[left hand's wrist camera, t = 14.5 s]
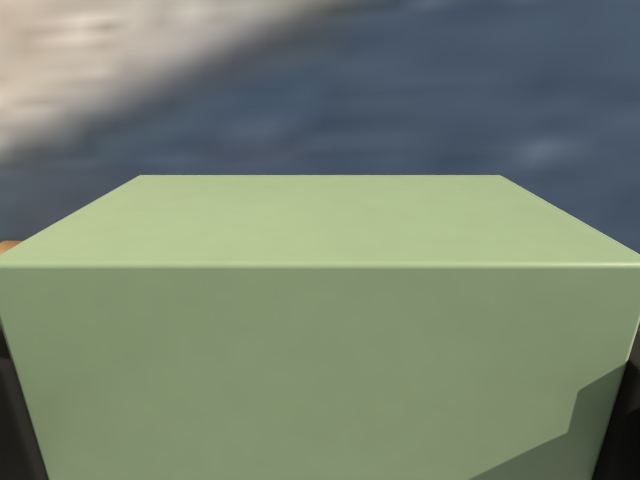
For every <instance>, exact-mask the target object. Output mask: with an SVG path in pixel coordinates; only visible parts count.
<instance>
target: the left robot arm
mask: <svg viewBox="0 0 640 480" xmlns="http://www.w3.org/2000/svg"><path fill="white" fill-rule="evenodd" d="M0 480H48V479H47V475H46V472H45V469H44V465H43V462H42V459H41V455H40V452H39V449H38V446H37V442H36V439H35V436H34V432H33V429H32V426H31V422H30V419H29V416H28V412H27V409H26V406H25V403H24V399H23V396H22V393H21V389H20V386H19V383H18V379H17V376H16V373H15V370H14V366H13V363H12V360H11V357H10V353H9V350H8V347H7V344H6V340H5V337H4V334H3V330H2V327H1V324H0ZM592 480H640V322H639V325H638V329H637V332H636V335H635V339H634V342H633V345H632V349H631V352H630V355H629V359H628V362H627V365H626V368H625V372H624V375H623V378H622V382H621V385H620V388H619V392H618V395H617V398H616V402H615V405H614V408H613V411H612V415H611V418H610V421H609V425H608V428H607V431H606V435H605V438H604V441H603V445H602V448H601V451H600V454H599V458H598V461H597V464H596V468H595V471H594V474H593V478H592Z"/></svg>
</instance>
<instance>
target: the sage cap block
mask: <svg viewBox="0 0 640 480" xmlns="http://www.w3.org/2000/svg"><path fill="white" fill-rule="evenodd" d="M639 322H640V254H638V253H636V252H634V251H633V250H631V249H629V248H627V247H626V246H624V245H622V244H620V243H619V242H617V241H615V240H613V239H612V238H610V237H608V236H606V235H604V234H603V233H601V232H599V231H597V230H596V229H594V228H592V227H590V226H589V225H587V224H585V223H583V222H582V221H580V220H578V219H576V218H574V217H573V216H571V215H569V214H567V213H566V212H564V211H562V210H560V209H559V208H557V207H555V206H553V205H552V204H550V203H548V202H546V201H545V200H543V199H541V198H539V197H537V196H536V195H534V194H532V193H530V192H529V191H527V190H525V189H523V188H522V187H520V186H518V185H516V184H515V183H513V182H511V181H509V180H508V179H506V178H504V177H502V176H500V175H140V176H138V177H136V178H134V179H132V180H131V181H129V182H127V183H125V184H123V185H122V186H120V187H118V188H116V189H115V190H113V191H111V192H109V193H108V194H106V195H104V196H102V197H100V198H99V199H97V200H95V201H93V202H92V203H90V204H88V205H86V206H85V207H83V208H81V209H79V210H78V211H76V212H74V213H72V214H70V215H69V216H67V217H65V218H63V219H62V220H60V221H58V222H56V223H55V224H53V225H51V226H49V227H47V228H46V229H44V230H42V231H40V232H39V233H37V234H35V235H33V236H32V237H30V238H28V239H26V240H24V241H23V242H21V243H19V244H17V245H16V246H14V247H12V248H10V249H9V250H7V251H5V252H3V253H1V254H0V324H1V327H2V330H3V334H4V337H5V340H6V344H7V347H8V350H9V353H10V357H11V360H12V363H13V366H14V370H15V373H16V376H17V379H18V383H19V386H20V389H21V393H22V396H23V399H24V403H25V406H26V409H27V412H28V416H29V419H30V422H31V426H32V429H33V432H34V436H35V439H36V442H37V446H38V449H39V452H40V455H41V459H42V462H43V465H44V469H45V472H46V475H47V479H48V480H592V478H593V474H594V471H595V468H596V464H597V461H598V458H599V454H600V451H601V448H602V445H603V441H604V438H605V435H606V431H607V428H608V425H609V421H610V418H611V415H612V411H613V408H614V405H615V402H616V398H617V395H618V392H619V388H620V385H621V382H622V378H623V375H624V372H625V368H626V365H627V362H628V359H629V355H630V352H631V349H632V345H633V342H634V339H635V335H636V332H637V329H638V325H639Z"/></svg>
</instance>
